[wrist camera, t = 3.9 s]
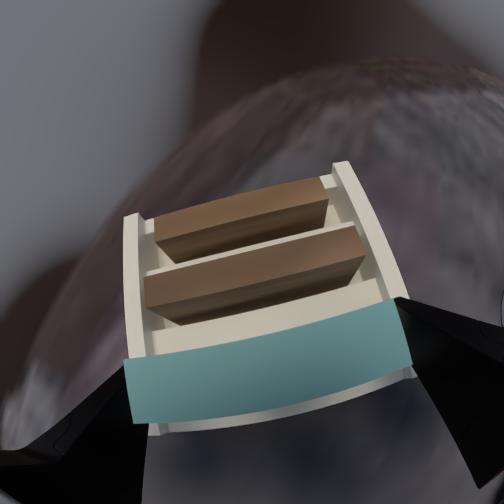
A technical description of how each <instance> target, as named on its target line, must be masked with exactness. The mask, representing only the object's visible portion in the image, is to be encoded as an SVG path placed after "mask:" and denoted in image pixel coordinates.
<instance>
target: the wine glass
mask: <svg viewBox="0 0 504 504" xmlns="http://www.w3.org/2000/svg"><path fill="white" fill-rule="evenodd" d="M501 321H502V327H504V293H503V297H502V304H501Z"/></svg>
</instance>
